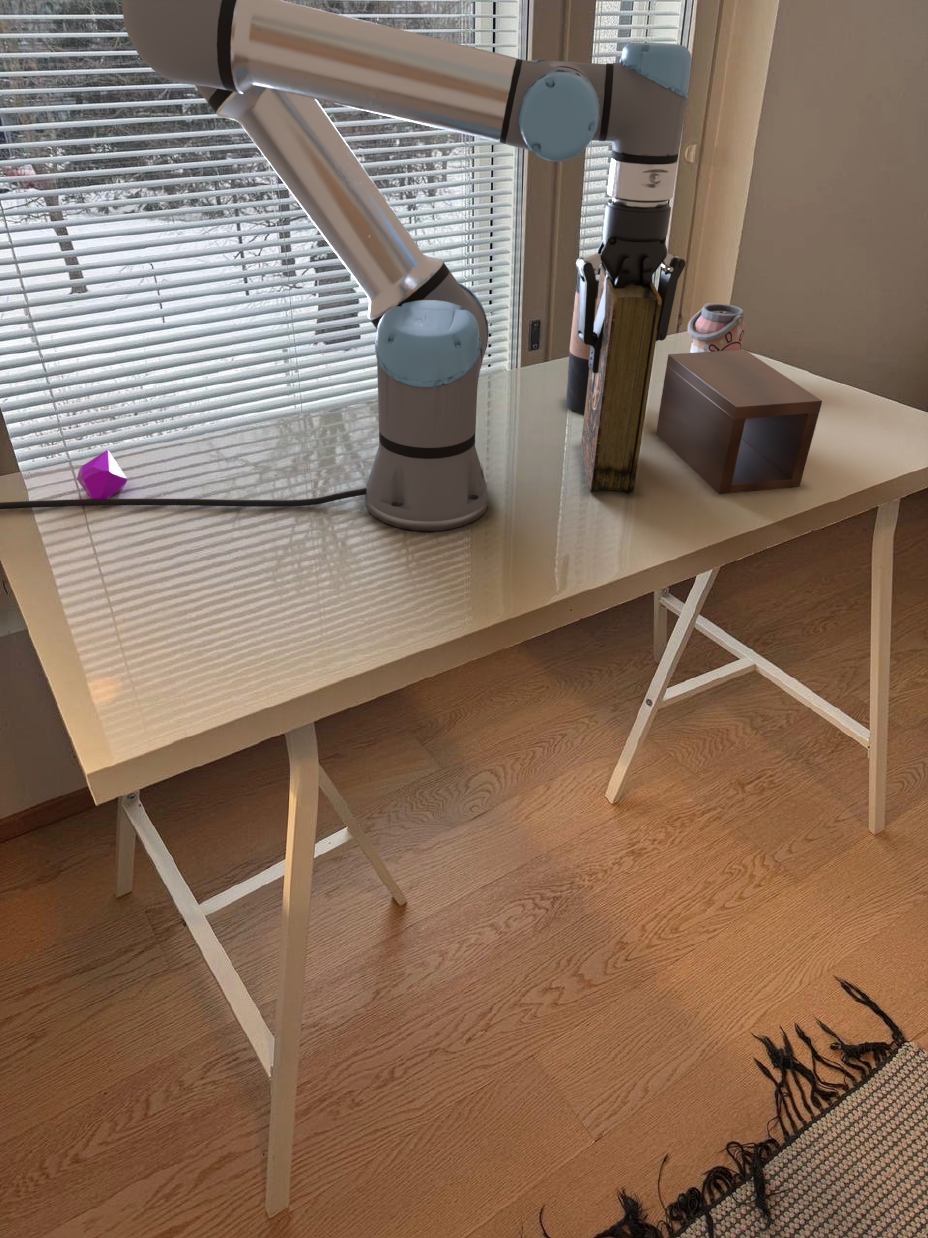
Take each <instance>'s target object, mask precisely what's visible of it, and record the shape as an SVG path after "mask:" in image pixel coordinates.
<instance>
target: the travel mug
mask: <svg viewBox="0 0 928 1238" xmlns="http://www.w3.org/2000/svg"><path fill="white" fill-rule="evenodd" d="M600 269H601V267H599V272H598V274H597V275H596V276H595V277H596V299H595V314H596V305H597V296H598V287H599V278H600ZM579 287H580V276H579V273H578V272H577V277H576V287H575V296H574V303H573V304H574V305H573V312H572V313H573V315H572V324H571V332H570V333H571V334H570V342H569V354H568V367H567V368H568V369H567V381H566V400H565V401H566V402H565V405H566V408H567V409H568V410H570V411H572V412H574V413H577V414H581V415H584V414H585V405H586V396H587V387H588V378H589V357H590V348H591V346H590V345H586V344H585V343H584V342H582V341H581V340H580V339H579V338H578V337H577V325H578V306H579ZM594 322H595V315H594Z"/></svg>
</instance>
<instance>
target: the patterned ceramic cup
mask: <svg viewBox="0 0 928 1238" xmlns="http://www.w3.org/2000/svg"><path fill="white" fill-rule="evenodd" d="M744 314H745V311H744V309H742V308H741V307H739V306H737V305H736V306H735V305H732V304H727V303H710V302H707V303H705V304H704V305H703V306H702V308H701V309H700V310H699V311H698V312H696V313H695V314H694V315H693V316H692V317H691V318H690V320H689V321H688V323H687V333H688V334H689V335H690V337H691V338H692V339H691V345H690V350H689V353H698V352H715V351H732V350H742V347H743V343H744V337H745V332H746V324H745V322H744Z"/></svg>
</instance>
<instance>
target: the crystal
mask: <svg viewBox="0 0 928 1238" xmlns="http://www.w3.org/2000/svg"><path fill="white" fill-rule="evenodd" d="M76 480H77V482H78V483H79V484H80V486H81V488H82V489H83V490H84V492H85V493H86V494H87V496H88V497H89V499H111V497H113V496H115V495H116V494H117V493H119V492H120V491H122V490H123V489H124V487H125V485H126V484H127V482H128V478H127V476H126V475H125V473H124V472H123V470H122V469H121V467H120V466H119V463H118V462H117V461H116V459H115V458H114V456H113V455H112V453H111V452H110V451H109V449H106V450H104V451H103V452H102V453H100V454H99V455H97V456H96V457H94V458H93V459H91V460H89V461H88V462H86V463H84V464H83V465H81V467H80V468H79V469H78V473H77V476H76ZM95 507H98V506H95Z"/></svg>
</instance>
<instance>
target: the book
mask: <svg viewBox="0 0 928 1238" xmlns="http://www.w3.org/2000/svg"><path fill="white" fill-rule="evenodd" d="M600 268H601V269H600V278H599V287H598V296H597V305H596V314H595V319H596V315H597V312H598V308H599V305H600V301H601V298H602V294H603V291H604V281H605V277H606V274H607V273H606V271H605V270H604V268H603V266H602V264H600ZM613 283H614V282H613ZM614 284H615V283H614ZM657 291H658V289H657V288H656V286H655V285H654V283H653V284H650V286H649V287H642V285H636V284H629V285H625V288H616V289H615V288H613V286H612V284H611V281H610V279H609V278H608V279H607V278H606V293H605V319H604V327H603V336H602V346H601V349H600V357H599V365H598V373H596V377H595V385H594V394H593V393H592V387H593V378H594V373H593V372H592V371H591V370H590V369H589V378H588V387H587V396H586V405H585V414H583V424H582V431H581V440H580V441H581V442H580V450H581V451H580V452H581V455H582V461H583V465H584V470H585V476H586V481H587V485H588V488H589V489H588V490H589V492H590V493H594V492H597V491H603V490H604V491H605V490H606V491H607V490H608V491H609V490H611V491H618V492H622V493H628V494H633V493H634V490H635V484H636V479H637V472H638V466H639V465H638V464H639V458H640V451H641V444H642V440H643V439H642V437H643V432H644V423H645V418H646V412H647V411H646V410H647V404H648V399H649V398H648V397H649V390H650V383H651V377H652V371H653V364H654V357H655V352H656V351H655V350H656V344H657V341H656V338H657V331H658V324H659V317H660V311H661V297H660V295H659V293H658V292H657Z"/></svg>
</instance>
